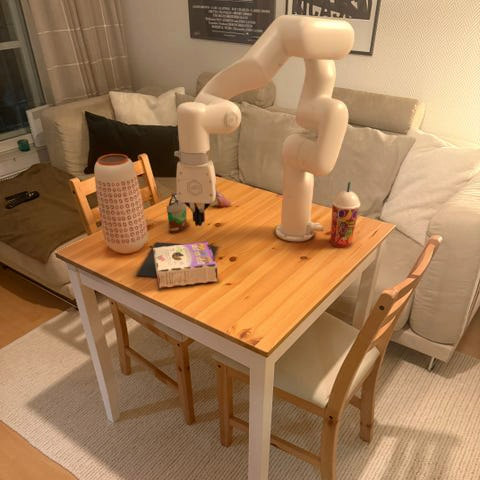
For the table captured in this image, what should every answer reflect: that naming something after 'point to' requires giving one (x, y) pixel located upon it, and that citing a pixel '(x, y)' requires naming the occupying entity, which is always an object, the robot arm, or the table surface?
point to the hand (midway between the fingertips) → (199, 223)
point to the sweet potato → (222, 200)
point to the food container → (176, 214)
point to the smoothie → (344, 217)
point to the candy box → (185, 264)
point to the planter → (120, 204)
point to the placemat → (149, 264)
